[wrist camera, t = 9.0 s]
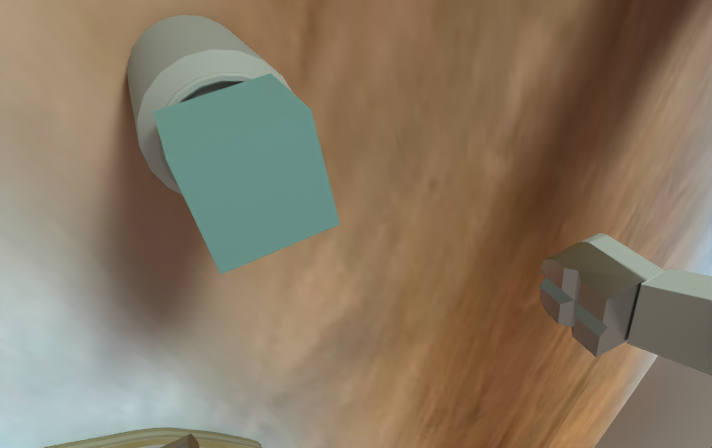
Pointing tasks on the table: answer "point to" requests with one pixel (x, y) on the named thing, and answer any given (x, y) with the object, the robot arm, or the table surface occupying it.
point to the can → (183, 75)
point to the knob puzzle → (162, 439)
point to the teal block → (248, 169)
